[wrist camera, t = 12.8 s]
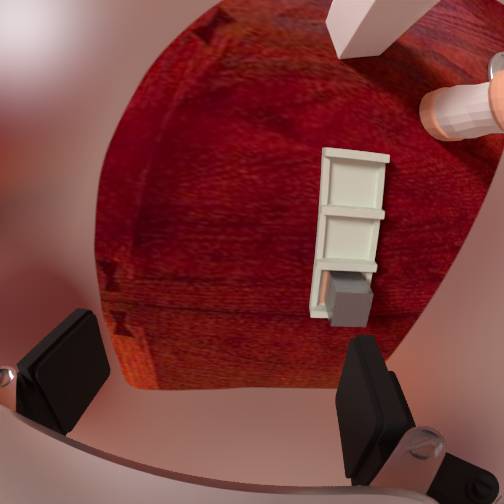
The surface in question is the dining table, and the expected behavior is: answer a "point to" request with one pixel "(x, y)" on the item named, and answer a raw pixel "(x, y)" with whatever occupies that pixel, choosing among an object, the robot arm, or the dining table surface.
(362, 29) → the milk
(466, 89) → the pepper shaker
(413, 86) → the dining table surface
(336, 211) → the white compartment tray
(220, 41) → the dining table surface
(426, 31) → the dining table surface
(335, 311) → the tall gray pillar
